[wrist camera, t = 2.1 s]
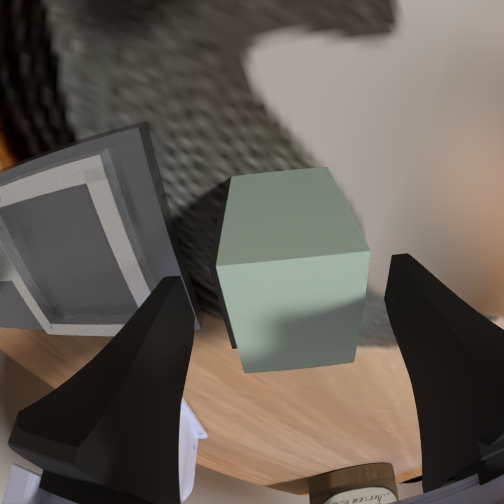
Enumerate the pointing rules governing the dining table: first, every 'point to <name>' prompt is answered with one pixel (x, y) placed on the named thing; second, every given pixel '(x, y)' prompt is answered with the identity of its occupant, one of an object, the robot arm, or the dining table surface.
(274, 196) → the block
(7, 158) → the dining table surface
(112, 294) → the rail
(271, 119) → the dining table surface
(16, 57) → the dining table surface
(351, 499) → the wooden container
